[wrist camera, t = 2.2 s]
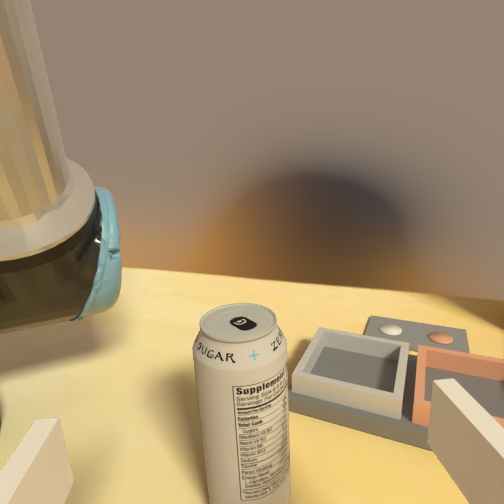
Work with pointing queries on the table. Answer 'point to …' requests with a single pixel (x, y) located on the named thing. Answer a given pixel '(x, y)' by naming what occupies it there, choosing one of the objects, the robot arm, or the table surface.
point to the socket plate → (386, 384)
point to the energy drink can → (243, 405)
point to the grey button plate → (418, 334)
